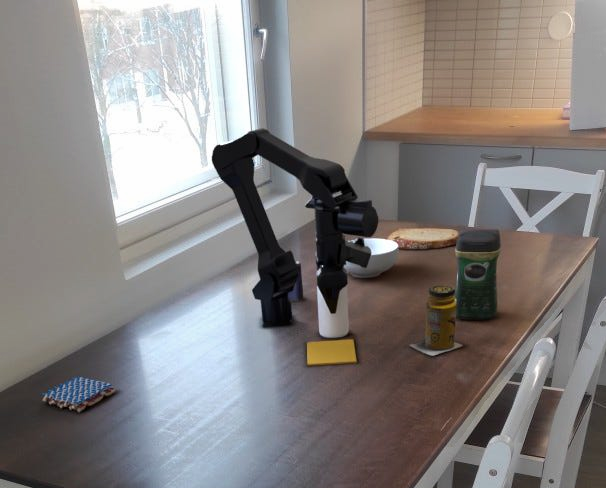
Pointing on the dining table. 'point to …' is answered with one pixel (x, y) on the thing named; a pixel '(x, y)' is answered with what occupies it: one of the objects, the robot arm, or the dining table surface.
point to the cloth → (331, 352)
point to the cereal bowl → (375, 258)
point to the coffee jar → (477, 273)
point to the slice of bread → (424, 238)
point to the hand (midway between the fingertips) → (332, 306)
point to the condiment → (439, 321)
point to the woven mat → (78, 393)
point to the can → (333, 316)
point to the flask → (297, 286)
